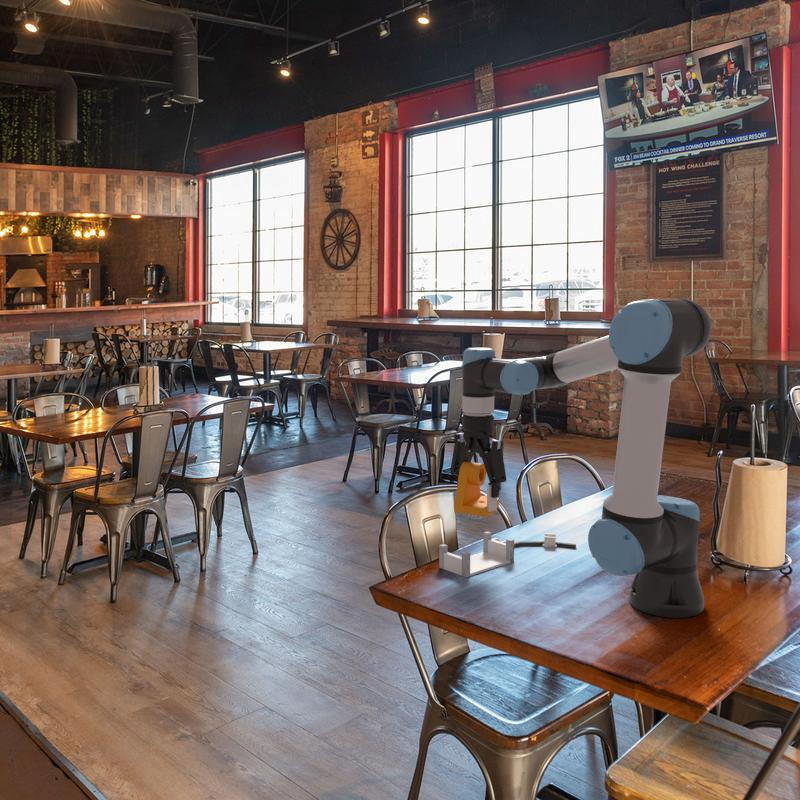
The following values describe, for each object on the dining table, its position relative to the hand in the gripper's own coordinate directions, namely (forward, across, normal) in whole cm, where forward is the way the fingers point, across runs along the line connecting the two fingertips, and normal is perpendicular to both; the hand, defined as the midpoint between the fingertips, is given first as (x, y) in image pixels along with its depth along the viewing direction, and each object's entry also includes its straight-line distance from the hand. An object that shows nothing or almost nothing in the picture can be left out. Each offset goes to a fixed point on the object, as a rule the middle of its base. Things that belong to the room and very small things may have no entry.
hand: (477, 506), depth 201 cm
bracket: (+2, 0, 0) cm, 2 cm away
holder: (+15, 0, 0) cm, 15 cm away
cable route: (+15, -1, -19) cm, 24 cm away
